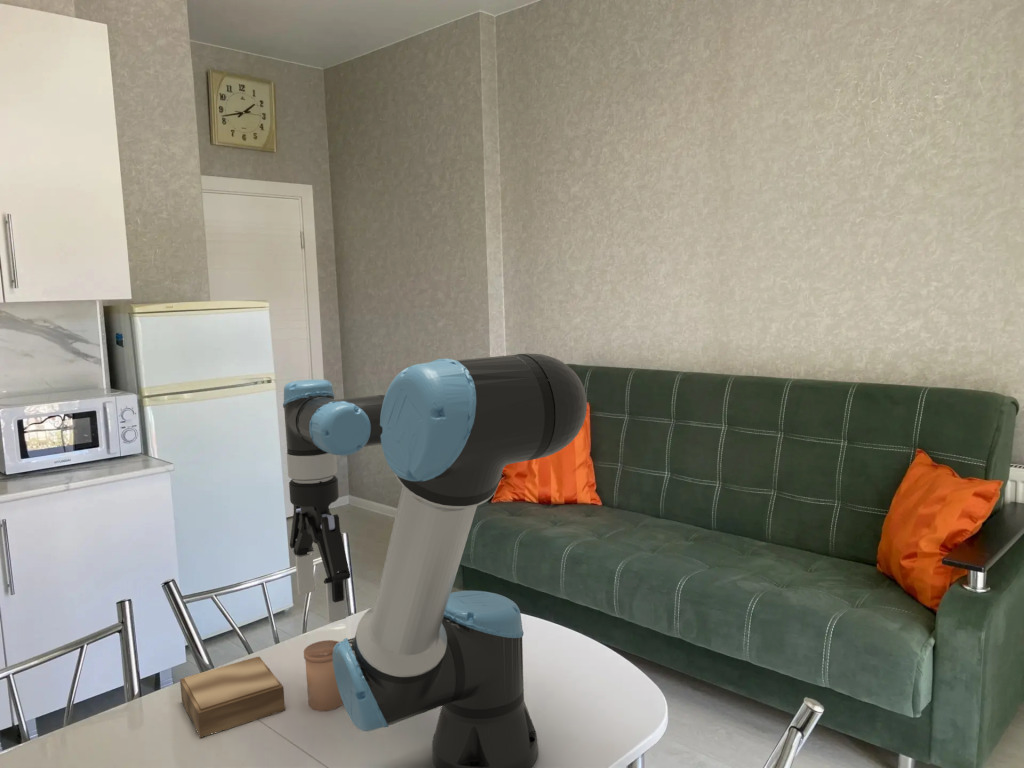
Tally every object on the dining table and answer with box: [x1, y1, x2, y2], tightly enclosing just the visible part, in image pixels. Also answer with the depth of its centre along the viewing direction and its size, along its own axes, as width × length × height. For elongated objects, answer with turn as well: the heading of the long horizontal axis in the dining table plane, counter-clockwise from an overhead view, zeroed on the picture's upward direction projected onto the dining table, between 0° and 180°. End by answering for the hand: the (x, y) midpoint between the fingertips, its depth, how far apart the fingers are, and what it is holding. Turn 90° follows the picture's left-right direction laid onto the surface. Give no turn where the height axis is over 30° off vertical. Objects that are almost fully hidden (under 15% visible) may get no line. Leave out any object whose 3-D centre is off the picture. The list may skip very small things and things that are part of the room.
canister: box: [303, 639, 344, 712], centre depth 127 cm, size 6×6×9 cm
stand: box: [179, 656, 286, 738], centre depth 126 cm, size 13×13×4 cm
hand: (321, 605), depth 125 cm, fingers open, 13 cm apart
